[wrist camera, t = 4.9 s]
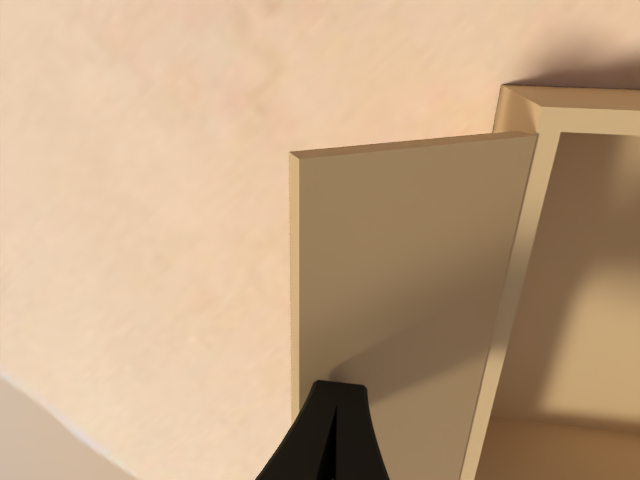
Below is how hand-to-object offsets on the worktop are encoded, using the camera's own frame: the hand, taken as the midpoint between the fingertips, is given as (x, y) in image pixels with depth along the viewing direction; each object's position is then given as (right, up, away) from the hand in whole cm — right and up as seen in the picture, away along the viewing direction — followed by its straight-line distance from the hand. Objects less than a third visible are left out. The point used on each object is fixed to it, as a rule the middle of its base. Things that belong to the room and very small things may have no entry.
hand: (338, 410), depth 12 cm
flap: (+2, +1, +1) cm, 2 cm away
